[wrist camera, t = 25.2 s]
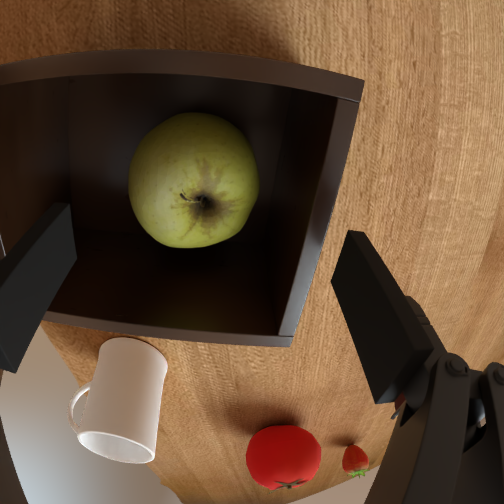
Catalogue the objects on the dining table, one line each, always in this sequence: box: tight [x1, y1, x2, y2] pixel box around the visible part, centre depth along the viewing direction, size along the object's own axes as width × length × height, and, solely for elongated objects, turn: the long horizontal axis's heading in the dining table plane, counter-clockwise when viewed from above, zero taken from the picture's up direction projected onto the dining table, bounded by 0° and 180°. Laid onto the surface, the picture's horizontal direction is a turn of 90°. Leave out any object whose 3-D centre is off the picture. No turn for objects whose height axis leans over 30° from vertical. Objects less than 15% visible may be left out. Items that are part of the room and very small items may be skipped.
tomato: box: [246, 425, 321, 494], centre depth 42 cm, size 12×12×11 cm
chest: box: [0, 49, 365, 347], centre depth 18 cm, size 18×15×11 cm
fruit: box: [342, 445, 370, 478], centre depth 51 cm, size 5×5×8 cm
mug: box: [67, 337, 168, 463], centre depth 30 cm, size 12×8×12 cm
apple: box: [128, 113, 260, 248], centre depth 19 cm, size 8×8×10 cm
